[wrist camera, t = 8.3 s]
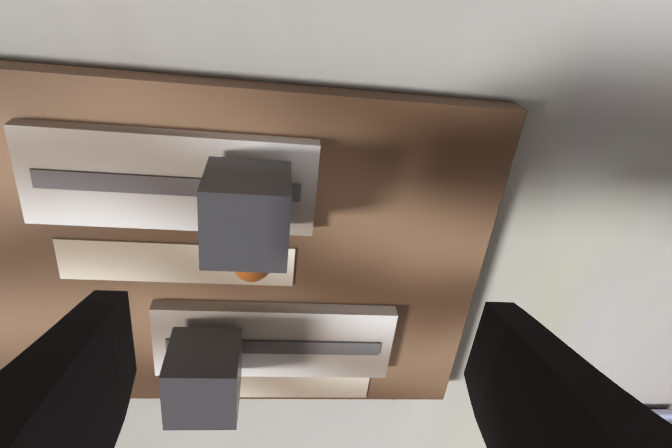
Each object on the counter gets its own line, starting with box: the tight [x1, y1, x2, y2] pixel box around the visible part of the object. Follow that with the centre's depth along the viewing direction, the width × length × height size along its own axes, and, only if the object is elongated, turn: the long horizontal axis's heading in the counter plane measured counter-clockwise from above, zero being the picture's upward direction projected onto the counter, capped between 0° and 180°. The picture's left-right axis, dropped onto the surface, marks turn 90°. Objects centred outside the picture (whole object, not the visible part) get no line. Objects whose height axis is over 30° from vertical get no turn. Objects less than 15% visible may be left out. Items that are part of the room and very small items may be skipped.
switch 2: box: [197, 156, 292, 274], centre depth 15 cm, size 2×2×2 cm
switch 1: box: [159, 327, 242, 430], centre depth 18 cm, size 2×2×2 cm
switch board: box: [0, 60, 527, 399], centre depth 18 cm, size 13×18×2 cm
